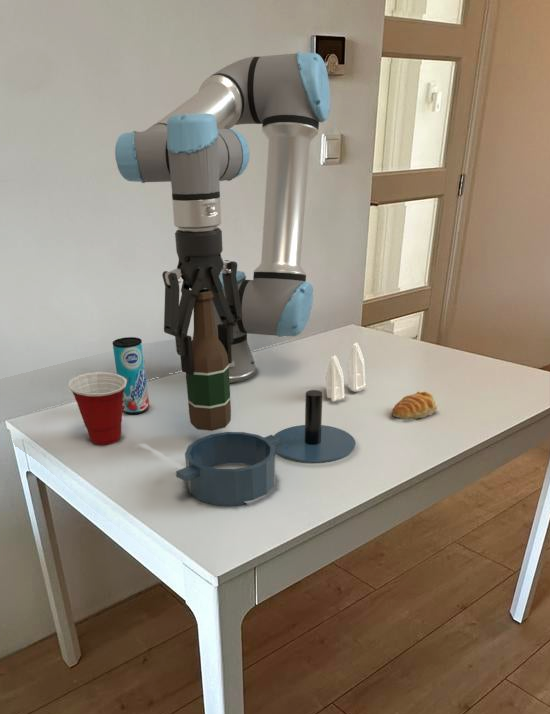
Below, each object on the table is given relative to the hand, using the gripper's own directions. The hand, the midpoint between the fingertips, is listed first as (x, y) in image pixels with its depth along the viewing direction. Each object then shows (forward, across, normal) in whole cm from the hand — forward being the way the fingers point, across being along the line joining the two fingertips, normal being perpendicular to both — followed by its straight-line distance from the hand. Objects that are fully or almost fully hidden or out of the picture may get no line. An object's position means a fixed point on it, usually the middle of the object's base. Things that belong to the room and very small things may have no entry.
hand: (207, 366), depth 112 cm
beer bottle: (+11, 0, 0) cm, 11 cm away
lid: (+15, +13, -14) cm, 24 cm away
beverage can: (+15, -2, +25) cm, 29 cm away
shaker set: (+15, +37, 0) cm, 40 cm away
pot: (+15, -7, -15) cm, 22 cm away
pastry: (+15, +39, -17) cm, 45 cm away
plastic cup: (+15, -14, +16) cm, 26 cm away
